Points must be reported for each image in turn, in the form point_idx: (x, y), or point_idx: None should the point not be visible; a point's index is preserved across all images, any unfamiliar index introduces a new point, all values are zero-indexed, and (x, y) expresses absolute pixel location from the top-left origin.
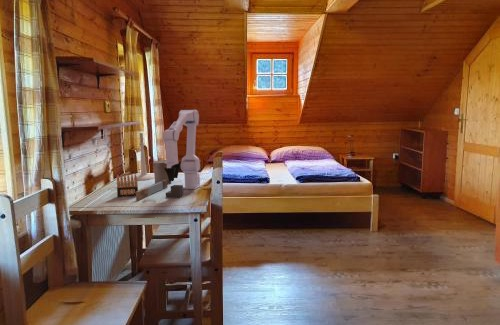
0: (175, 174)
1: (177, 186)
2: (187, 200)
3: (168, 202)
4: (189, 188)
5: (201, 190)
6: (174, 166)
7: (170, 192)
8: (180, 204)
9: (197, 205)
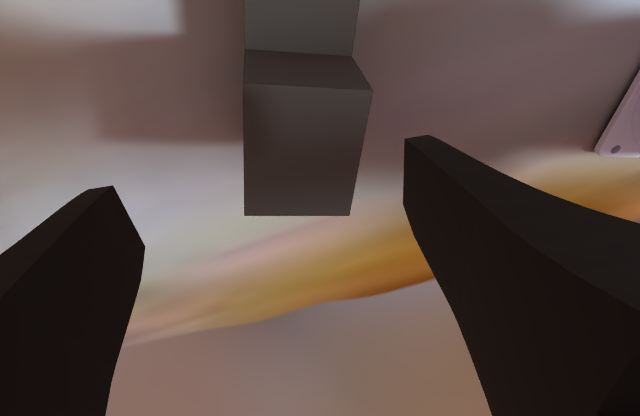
0: (430, 229)
1: (259, 186)
2: (180, 233)
3: (28, 96)
4: (627, 97)
5: None
6: (551, 409)
7: (278, 27)
8: None
9: None
